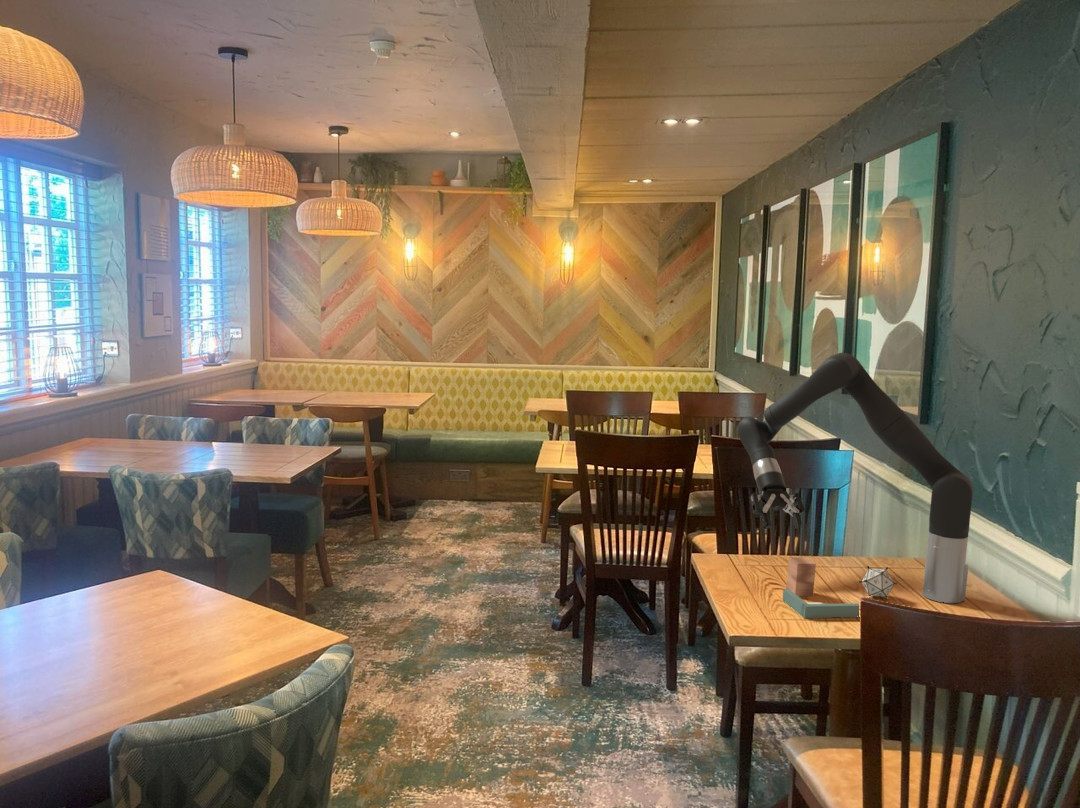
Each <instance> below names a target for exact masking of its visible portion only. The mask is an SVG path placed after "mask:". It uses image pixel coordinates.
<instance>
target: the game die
mask: <svg viewBox="0 0 1080 808" xmlns="http://www.w3.org/2000/svg"><path fill="white" fill-rule="evenodd" d="M866 568H867V571H866V572H865V575H863V577H862V580H858V581H857V582H858V583H860V584H862V585H863V587H864V589H865V591H866V593H867V594H868V596H870V597H878V596H879V597H880V596H882V597H881V598H886V597H888V596H889V594H890V592H891V591H892V589H893V587H894V585H898V584H899V583H898V582H896V581H894V580H893V577H891V575H890V573H889V571H888V569H889V567H888V566H886V567H885V569H884V568H874V567H873V568H872V567H870V566H869V565H866ZM871 595H873V596H871Z"/></svg>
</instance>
